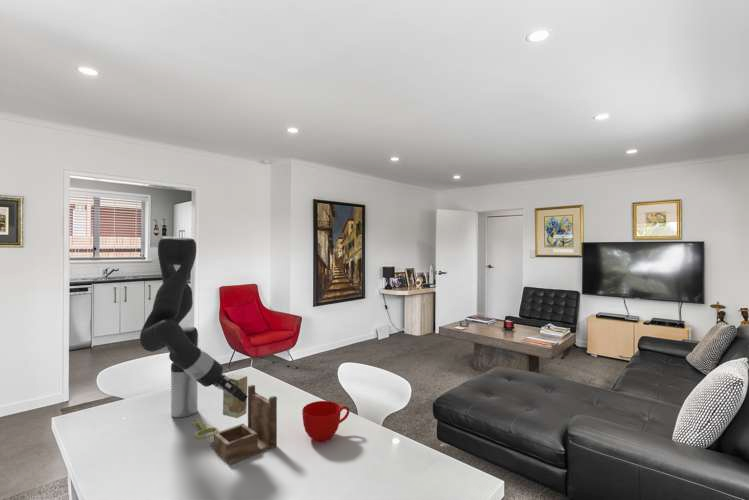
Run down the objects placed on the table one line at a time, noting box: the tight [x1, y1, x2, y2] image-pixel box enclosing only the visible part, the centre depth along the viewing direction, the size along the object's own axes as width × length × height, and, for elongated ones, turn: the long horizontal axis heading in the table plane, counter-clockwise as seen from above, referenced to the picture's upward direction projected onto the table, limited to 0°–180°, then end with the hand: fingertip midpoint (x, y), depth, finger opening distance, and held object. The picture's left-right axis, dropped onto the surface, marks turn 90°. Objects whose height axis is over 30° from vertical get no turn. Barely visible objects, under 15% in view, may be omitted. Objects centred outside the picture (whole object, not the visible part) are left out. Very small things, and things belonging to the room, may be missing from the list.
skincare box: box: [222, 373, 248, 419], centre depth 122 cm, size 6×4×12 cm
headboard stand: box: [210, 384, 278, 465], centre depth 125 cm, size 17×15×16 cm
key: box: [192, 419, 219, 439], centre depth 135 cm, size 7×12×2 cm, turn 59°
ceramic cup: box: [301, 400, 350, 443], centre depth 131 cm, size 13×17×10 cm
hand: (239, 395), depth 124 cm, fingers closed on skincare box, 7 cm apart
